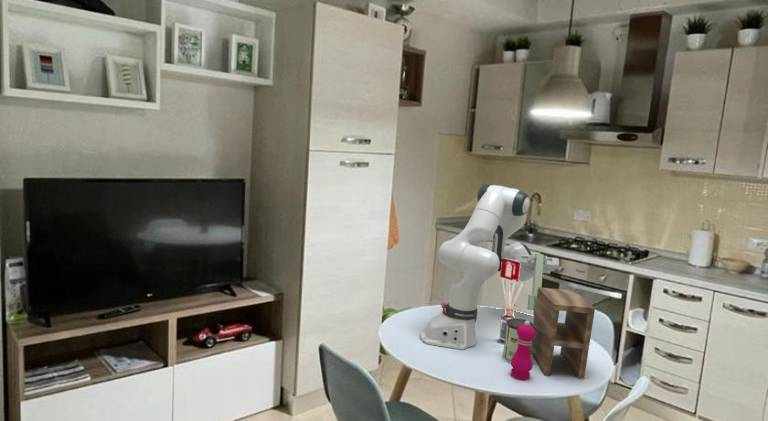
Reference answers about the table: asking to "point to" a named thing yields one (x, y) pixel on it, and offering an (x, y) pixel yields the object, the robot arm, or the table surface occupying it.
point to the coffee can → (513, 338)
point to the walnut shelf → (562, 329)
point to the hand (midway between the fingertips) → (540, 257)
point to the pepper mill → (523, 352)
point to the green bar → (536, 281)
